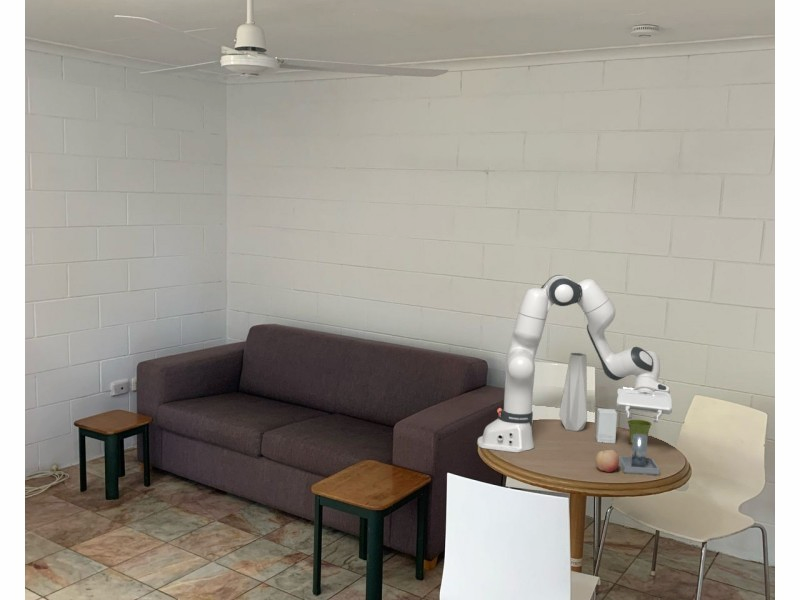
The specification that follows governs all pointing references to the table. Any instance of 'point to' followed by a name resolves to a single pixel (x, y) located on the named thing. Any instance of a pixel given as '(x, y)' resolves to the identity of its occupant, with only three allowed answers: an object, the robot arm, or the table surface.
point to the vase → (575, 394)
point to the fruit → (607, 460)
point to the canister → (639, 450)
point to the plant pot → (638, 427)
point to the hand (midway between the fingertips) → (642, 420)
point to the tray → (649, 469)
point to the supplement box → (606, 425)
